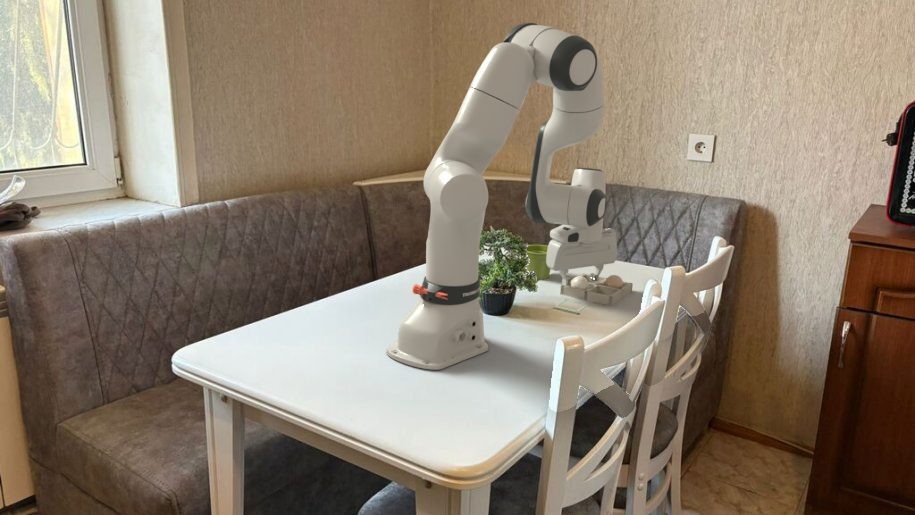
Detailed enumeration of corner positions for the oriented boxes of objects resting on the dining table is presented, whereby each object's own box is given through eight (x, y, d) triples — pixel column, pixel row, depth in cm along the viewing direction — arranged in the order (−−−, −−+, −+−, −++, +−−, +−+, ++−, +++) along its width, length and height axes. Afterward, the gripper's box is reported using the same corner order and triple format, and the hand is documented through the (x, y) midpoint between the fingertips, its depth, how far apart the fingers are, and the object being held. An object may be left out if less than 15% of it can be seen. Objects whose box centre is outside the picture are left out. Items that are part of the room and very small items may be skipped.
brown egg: (618, 296, 177) (619, 279, 176) (601, 292, 180) (603, 275, 179) (624, 291, 181) (626, 275, 180) (608, 288, 184) (610, 271, 182)
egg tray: (611, 308, 171) (612, 297, 170) (560, 296, 178) (560, 285, 177) (631, 294, 182) (632, 283, 181) (582, 283, 189) (583, 273, 188)
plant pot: (514, 275, 195) (516, 246, 192) (543, 272, 198) (544, 243, 196) (531, 285, 186) (533, 254, 184) (560, 281, 190) (563, 251, 188)
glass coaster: (577, 314, 166) (577, 311, 166) (553, 309, 169) (553, 306, 169) (588, 307, 171) (588, 304, 171) (565, 302, 174) (565, 299, 174)
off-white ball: (584, 297, 176) (584, 280, 174) (567, 294, 178) (568, 277, 177) (591, 292, 179) (591, 275, 178) (575, 289, 182) (575, 272, 180)
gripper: (608, 224, 181) (604, 274, 185) (544, 231, 172) (541, 283, 176) (624, 230, 176) (619, 281, 180) (559, 237, 167) (555, 291, 171)
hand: (580, 282), depth 178 cm, fingers open, 8 cm apart
